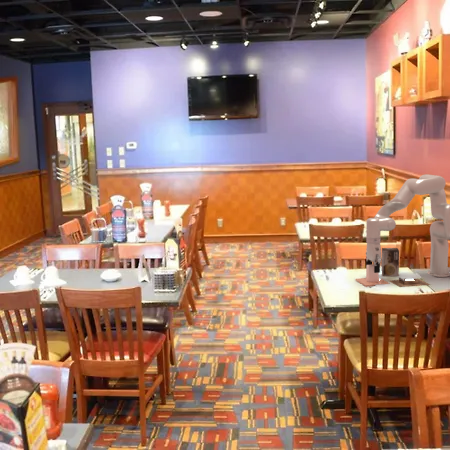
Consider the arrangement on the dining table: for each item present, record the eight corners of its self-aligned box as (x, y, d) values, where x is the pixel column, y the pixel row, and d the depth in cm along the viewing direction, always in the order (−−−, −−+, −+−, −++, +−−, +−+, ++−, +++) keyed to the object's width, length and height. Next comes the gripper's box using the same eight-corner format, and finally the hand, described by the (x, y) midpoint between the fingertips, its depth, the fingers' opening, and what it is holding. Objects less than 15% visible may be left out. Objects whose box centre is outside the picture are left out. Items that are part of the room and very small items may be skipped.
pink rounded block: (376, 279, 339) (376, 264, 338) (378, 281, 337) (378, 265, 335) (366, 280, 338) (366, 264, 337) (368, 282, 335) (368, 266, 334)
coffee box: (396, 274, 354) (397, 247, 351) (398, 277, 348) (399, 250, 345) (380, 274, 355) (381, 247, 352) (382, 277, 349) (383, 249, 346)
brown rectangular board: (417, 279, 342) (417, 274, 341) (430, 286, 328) (430, 280, 328) (388, 282, 338) (388, 276, 338) (399, 288, 325) (400, 282, 324)
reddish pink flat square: (378, 278, 346) (378, 277, 346) (389, 285, 332) (389, 283, 332) (355, 280, 343) (355, 278, 343) (365, 286, 330) (365, 285, 329)
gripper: (386, 242, 326) (386, 273, 329) (372, 237, 343) (372, 266, 346) (373, 244, 325) (373, 274, 328) (360, 238, 341) (360, 267, 344)
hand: (373, 270), depth 337 cm, fingers open, 9 cm apart
